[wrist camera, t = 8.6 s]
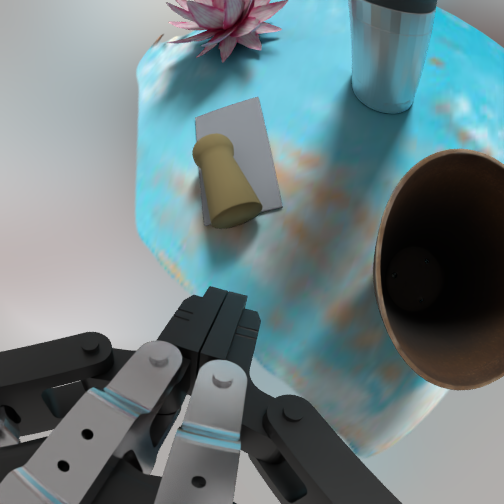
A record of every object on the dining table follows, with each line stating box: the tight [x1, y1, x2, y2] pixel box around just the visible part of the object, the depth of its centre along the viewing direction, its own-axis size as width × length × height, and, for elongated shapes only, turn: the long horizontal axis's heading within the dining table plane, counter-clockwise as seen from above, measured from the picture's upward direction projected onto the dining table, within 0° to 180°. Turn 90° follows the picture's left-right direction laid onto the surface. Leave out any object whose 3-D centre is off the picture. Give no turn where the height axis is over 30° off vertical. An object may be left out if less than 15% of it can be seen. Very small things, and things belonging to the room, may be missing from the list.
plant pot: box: [373, 149, 504, 390], centre depth 19 cm, size 15×15×16 cm
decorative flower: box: [166, 0, 288, 63], centre depth 31 cm, size 21×21×15 cm
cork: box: [193, 133, 263, 229], centre depth 31 cm, size 6×6×11 cm
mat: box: [195, 97, 282, 226], centre depth 34 cm, size 18×10×1 cm, turn 8°
